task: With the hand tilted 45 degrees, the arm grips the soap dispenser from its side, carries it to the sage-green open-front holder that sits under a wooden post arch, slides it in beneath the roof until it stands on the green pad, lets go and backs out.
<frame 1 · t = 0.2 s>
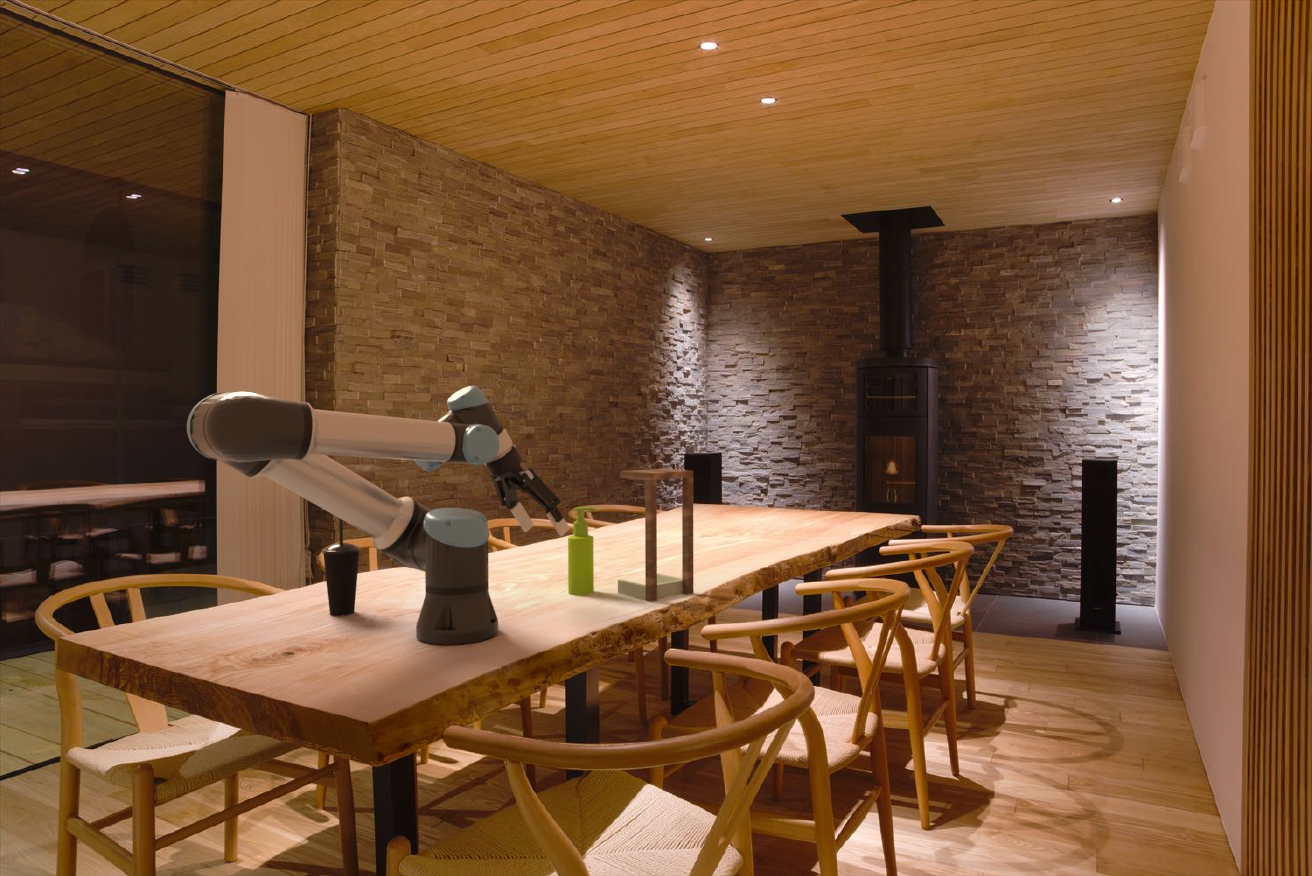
hand: (546, 530, 188), 16 cm above the table, tool tilted 35°, fingers open, 13 cm apart
drinking cup: (342, 614, 178), on the table
soap dispenser: (583, 593, 197), on the table
wooden post arch: (656, 532, 195), in the holder
holder: (651, 592, 197), on the table
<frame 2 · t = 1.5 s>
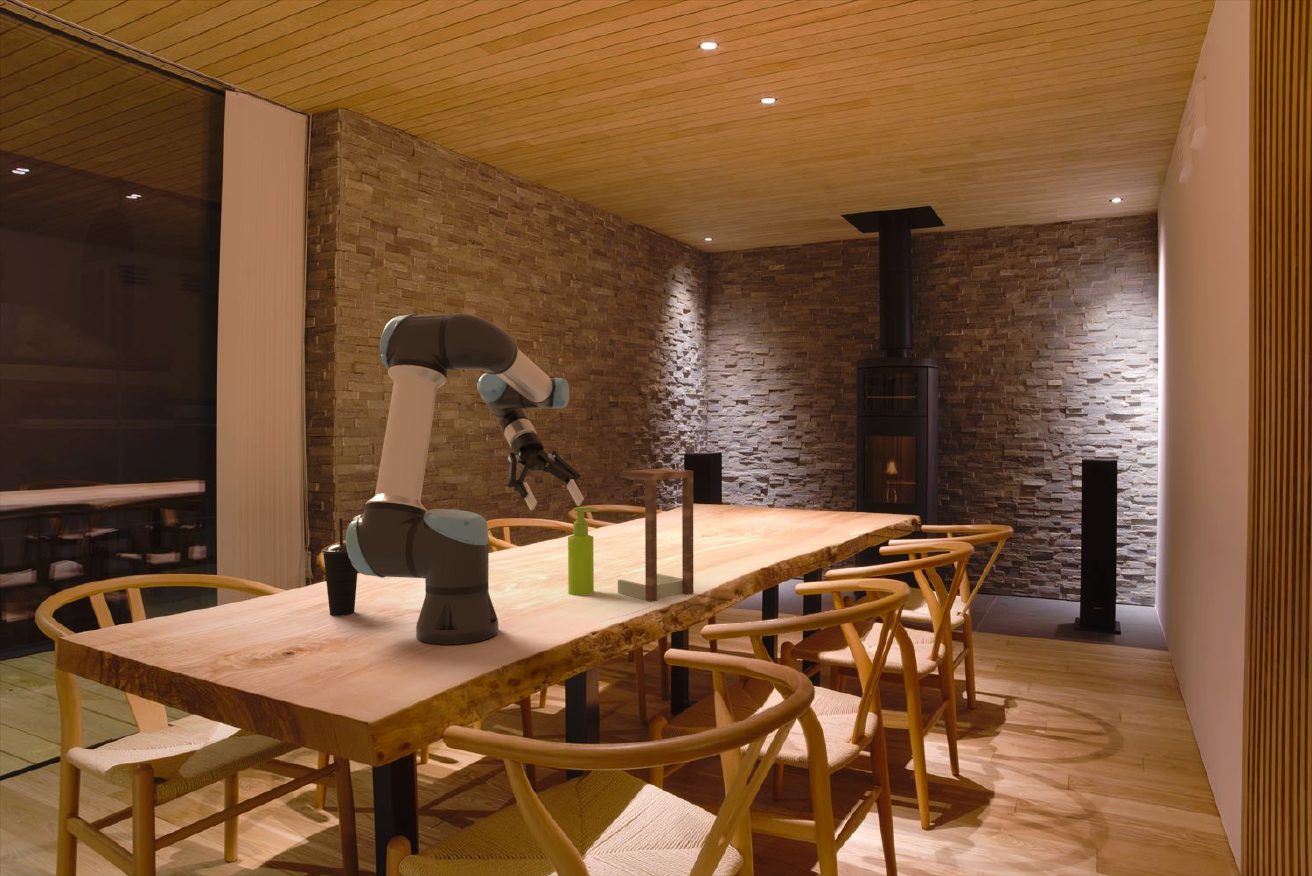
hand: (557, 504, 205), 20 cm above the table, tool tilted 45°, fingers open, 13 cm apart
nothing on the table moved.
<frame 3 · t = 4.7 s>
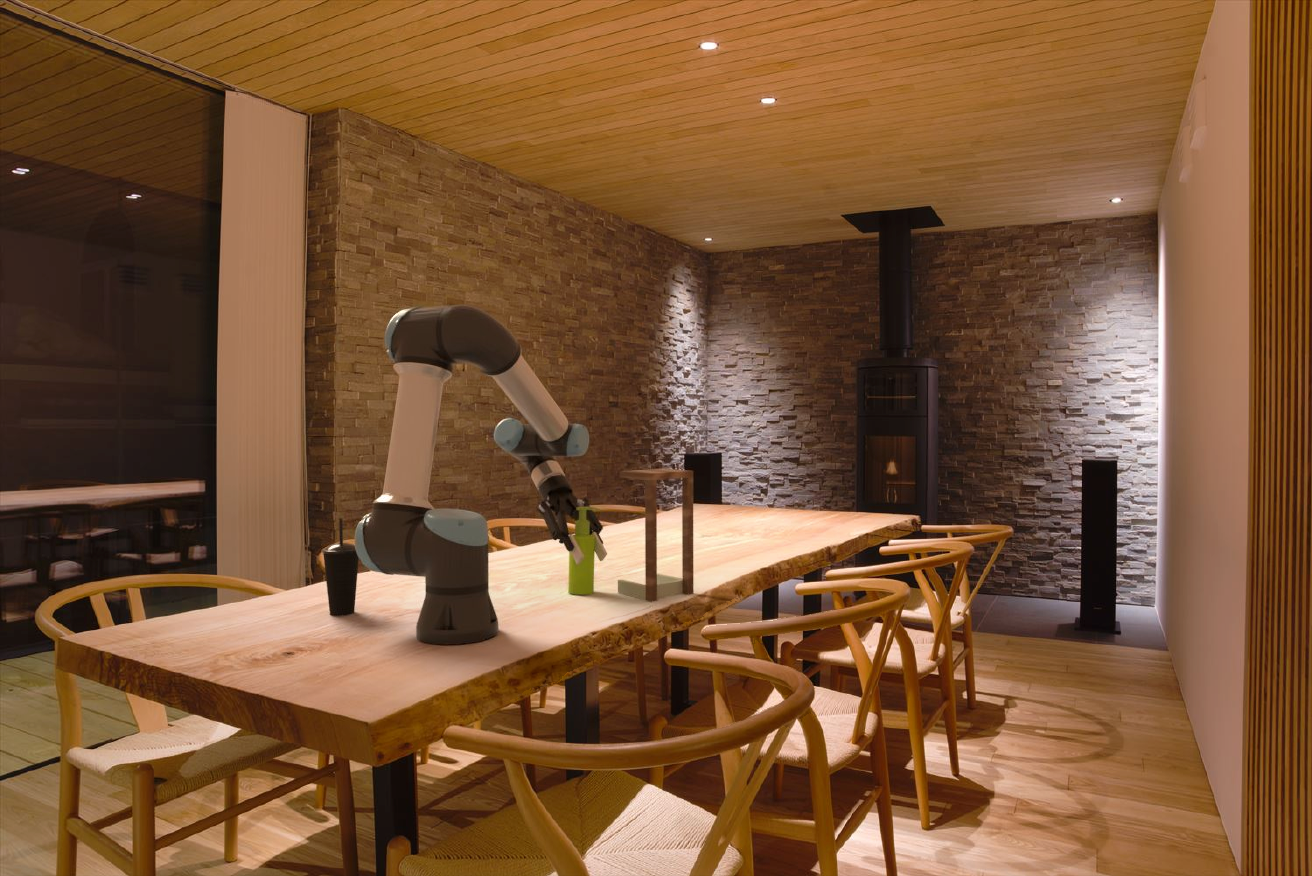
hand: (592, 558, 194), 8 cm above the table, tool tilted 45°, fingers closed on soap dispenser, 6 cm apart
soap dispenser: (583, 593, 197), on the table, touching gripper
everything else where it was.
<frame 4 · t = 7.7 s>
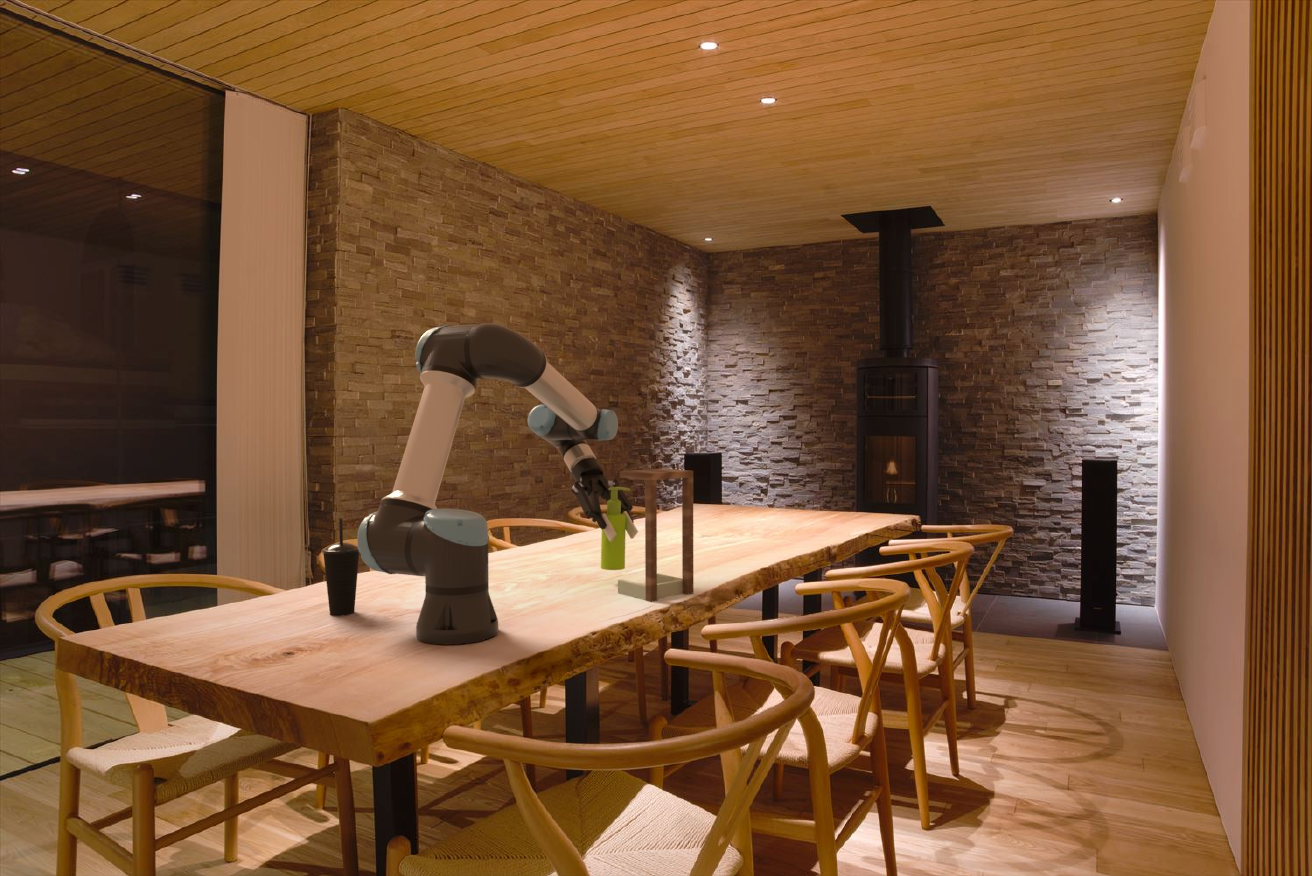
hand: (623, 536, 205), 12 cm above the table, tool tilted 45°, fingers closed on soap dispenser, 6 cm apart
soap dispenser: (614, 568, 208), point 4 cm above the table, touching gripper
everything else where it was.
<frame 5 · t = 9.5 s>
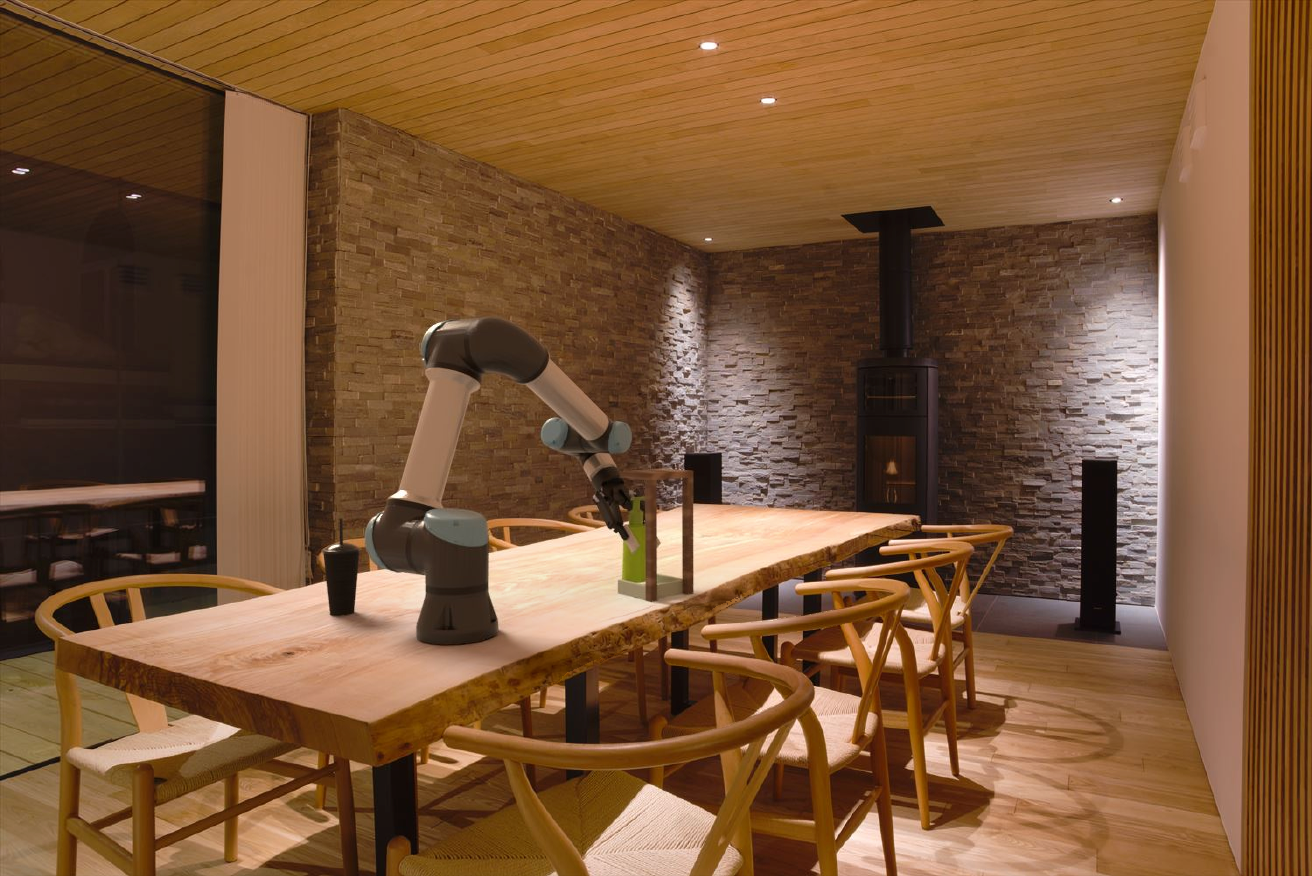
hand: (646, 548, 199), 10 cm above the table, tool tilted 45°, fingers closed on soap dispenser, 6 cm apart
soap dispenser: (636, 581, 202), point 2 cm above the table, touching gripper
everything else where it was.
when the fingers open (10 cm above the table, at t = 10.9 s): soap dispenser drops 2 cm, resting on holder.
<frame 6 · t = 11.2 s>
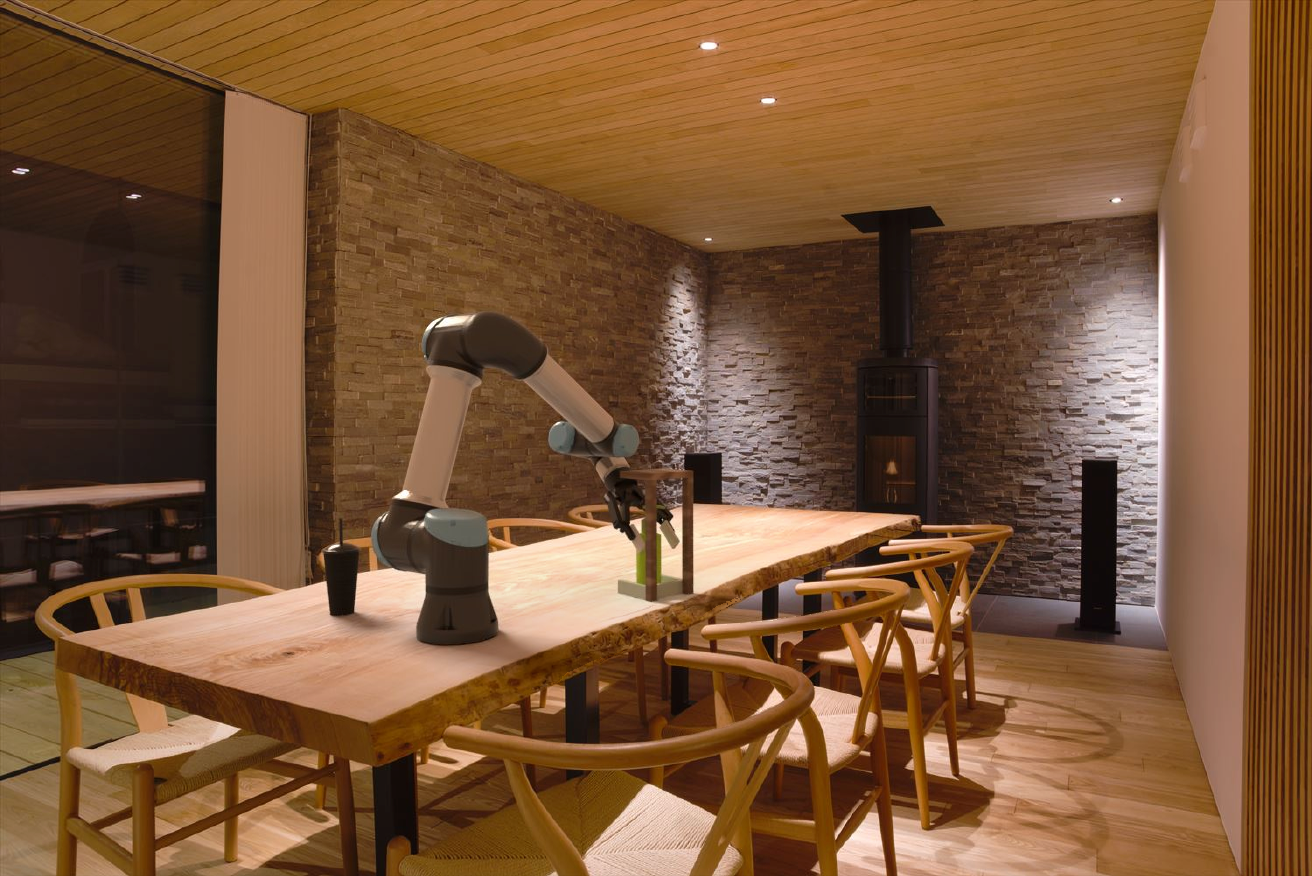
hand: (659, 547, 195), 11 cm above the table, tool tilted 45°, fingers open, 9 cm apart
soap dispenser: (651, 591, 197), resting on holder
everything else where it was.
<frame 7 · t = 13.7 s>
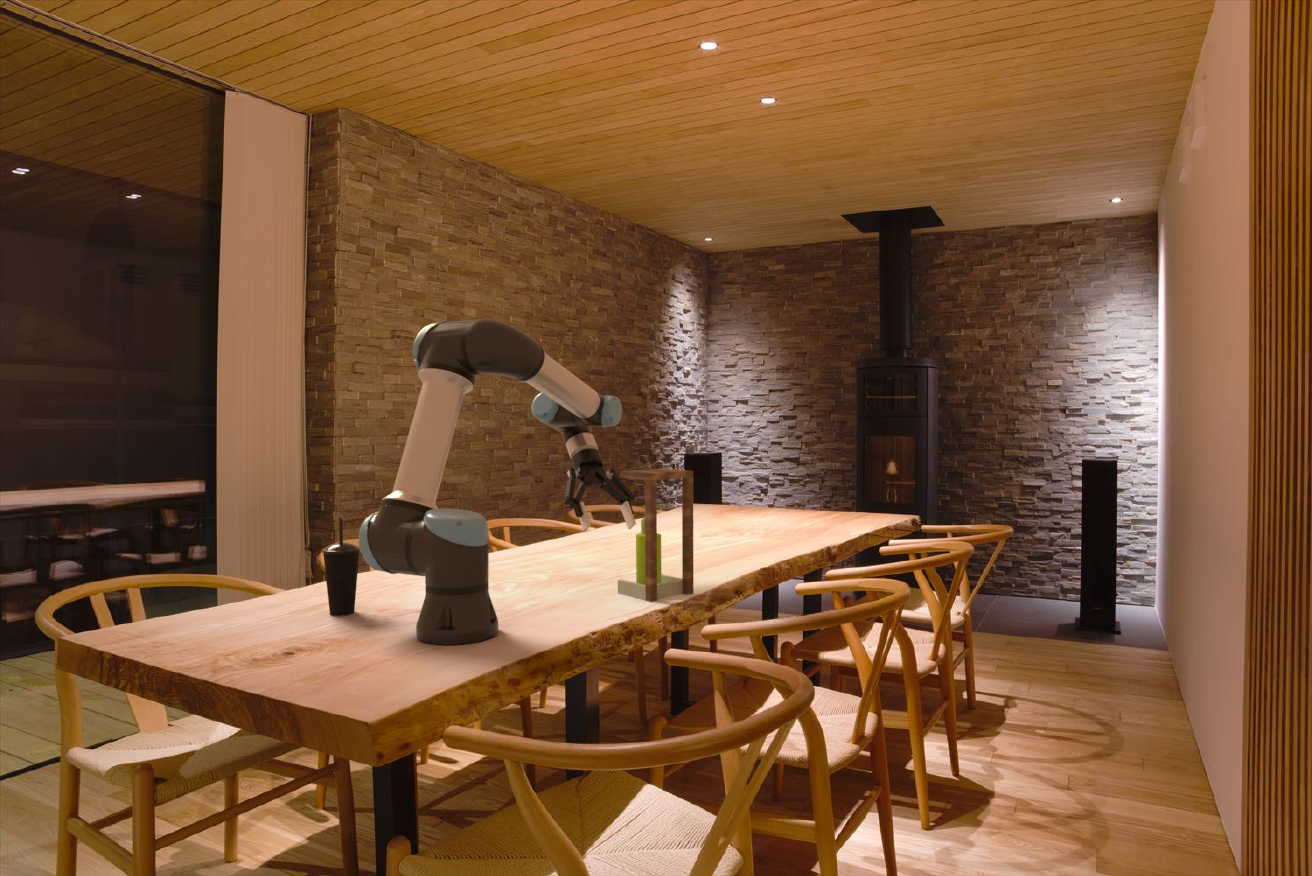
hand: (610, 527, 207), 14 cm above the table, tool tilted 35°, fingers open, 13 cm apart
nothing on the table moved.
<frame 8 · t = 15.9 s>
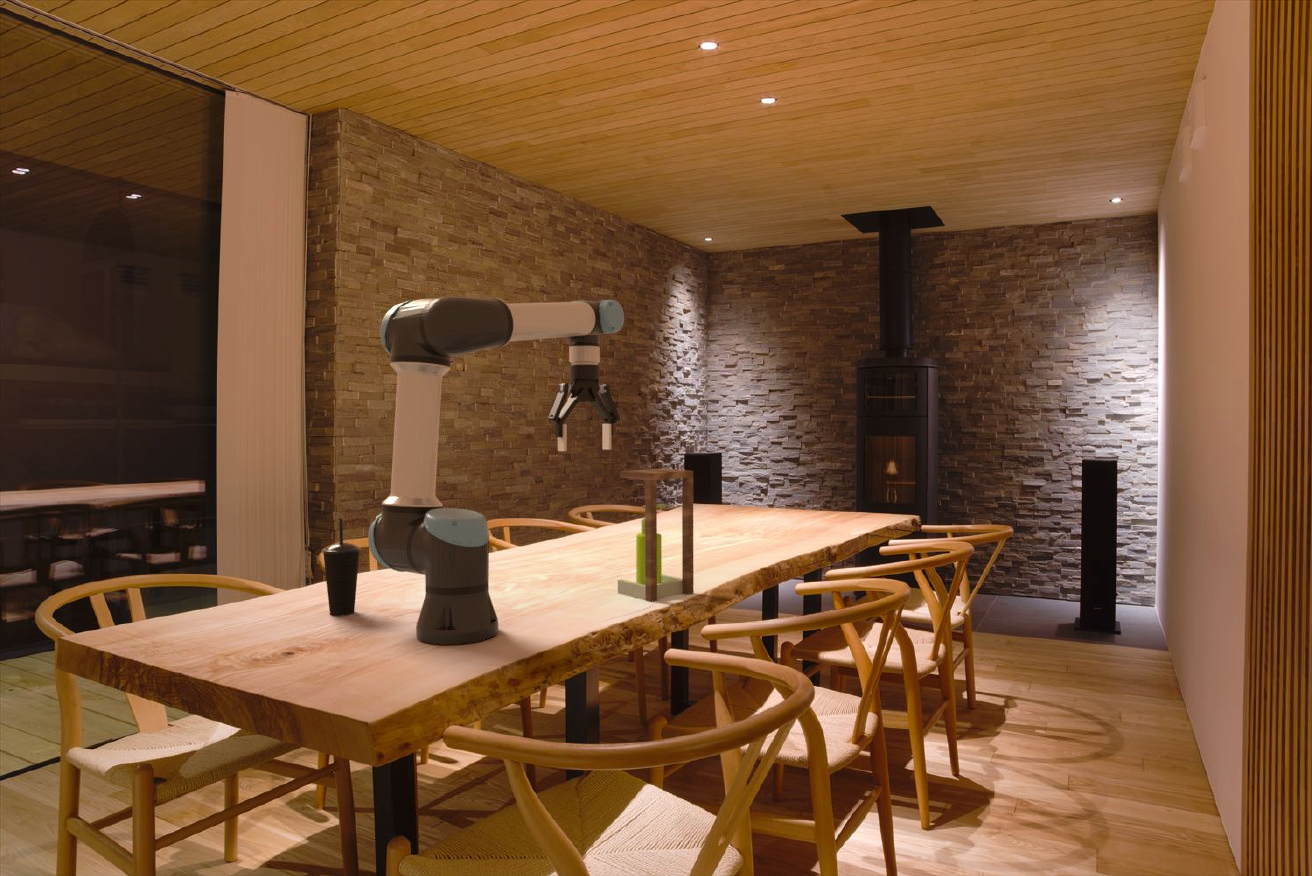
hand: (585, 450, 209), 33 cm above the table, tool pointing down, fingers open, 13 cm apart
nothing on the table moved.
at the end: soap dispenser inside the target area (0.1 cm from its centre), resting on holder; soap dispenser tilted 0°; the gripper is holding nothing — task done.
